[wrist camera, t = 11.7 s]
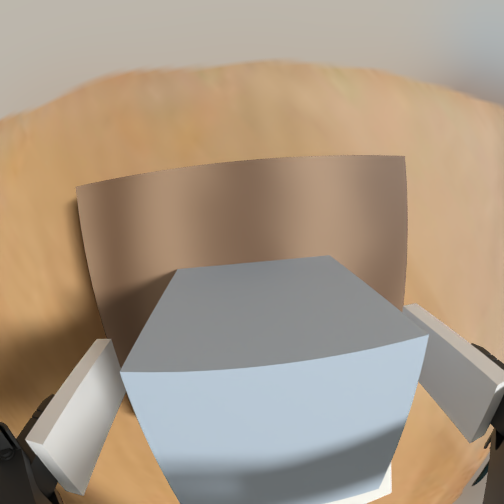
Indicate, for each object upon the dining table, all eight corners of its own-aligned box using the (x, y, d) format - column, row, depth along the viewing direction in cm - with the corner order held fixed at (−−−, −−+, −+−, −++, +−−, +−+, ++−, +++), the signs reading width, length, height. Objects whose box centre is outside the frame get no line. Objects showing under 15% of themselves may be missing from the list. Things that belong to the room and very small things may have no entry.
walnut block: (157, 403, 20) (147, 440, 16) (107, 185, 16) (75, 186, 12) (365, 379, 20) (385, 411, 16) (370, 160, 17) (404, 156, 13)
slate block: (200, 390, 15) (187, 515, 7) (177, 268, 13) (119, 372, 6) (326, 376, 15) (378, 488, 7) (329, 255, 14) (429, 334, 6)
